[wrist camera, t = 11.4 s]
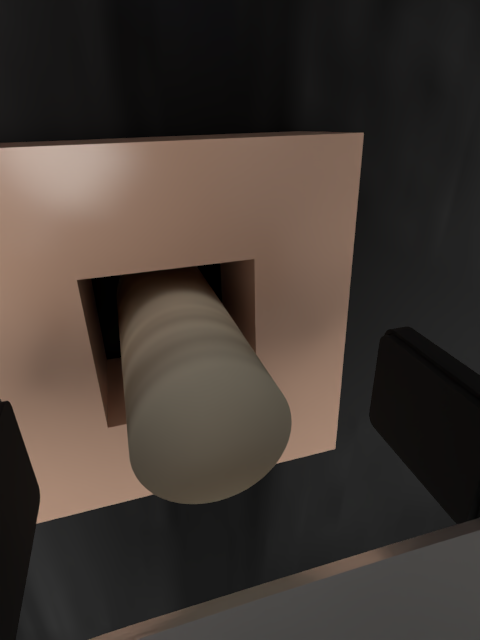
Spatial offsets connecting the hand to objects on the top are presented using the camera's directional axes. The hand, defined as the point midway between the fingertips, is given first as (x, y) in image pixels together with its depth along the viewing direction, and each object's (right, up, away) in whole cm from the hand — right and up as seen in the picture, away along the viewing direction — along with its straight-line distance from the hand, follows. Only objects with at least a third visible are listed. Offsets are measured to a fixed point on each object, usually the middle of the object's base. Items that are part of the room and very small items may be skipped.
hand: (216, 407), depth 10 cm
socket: (-3, +3, +8) cm, 9 cm away
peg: (-3, +3, +8) cm, 9 cm away
